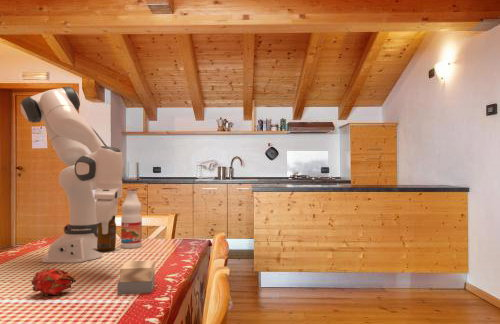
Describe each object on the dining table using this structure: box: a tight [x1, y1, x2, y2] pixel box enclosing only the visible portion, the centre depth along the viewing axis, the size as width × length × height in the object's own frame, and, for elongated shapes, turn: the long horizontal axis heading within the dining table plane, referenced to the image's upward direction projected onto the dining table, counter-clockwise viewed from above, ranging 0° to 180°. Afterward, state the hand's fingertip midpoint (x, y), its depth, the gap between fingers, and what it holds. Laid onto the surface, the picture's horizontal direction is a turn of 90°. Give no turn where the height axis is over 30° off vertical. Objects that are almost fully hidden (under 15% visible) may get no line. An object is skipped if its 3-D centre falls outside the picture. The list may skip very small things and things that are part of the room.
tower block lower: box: [117, 271, 156, 296], centre depth 117 cm, size 10×10×4 cm
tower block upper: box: [119, 260, 156, 282], centre depth 117 cm, size 9×9×4 cm
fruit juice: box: [120, 187, 143, 249], centre depth 179 cm, size 9×9×28 cm
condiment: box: [93, 216, 123, 254], centre depth 130 cm, size 7×8×12 cm
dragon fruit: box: [31, 267, 77, 298], centre depth 111 cm, size 8×8×12 cm
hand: (107, 231), depth 131 cm, fingers closed on condiment, 6 cm apart
